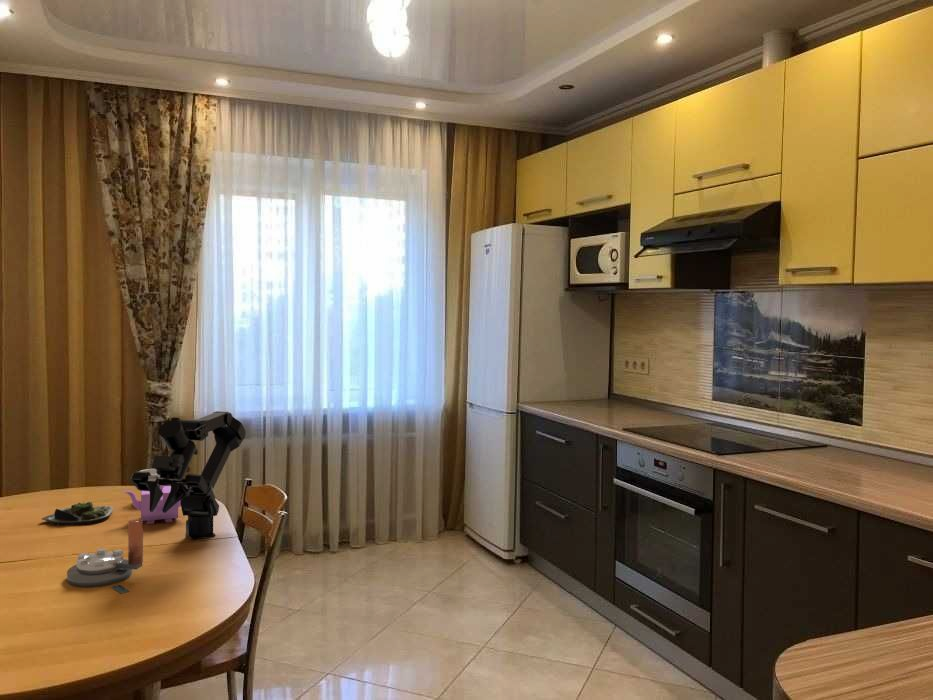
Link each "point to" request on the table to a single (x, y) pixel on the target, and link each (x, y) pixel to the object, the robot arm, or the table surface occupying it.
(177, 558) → the table surface
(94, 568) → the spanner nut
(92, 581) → the flange base
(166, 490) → the teapot
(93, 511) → the salad plate
